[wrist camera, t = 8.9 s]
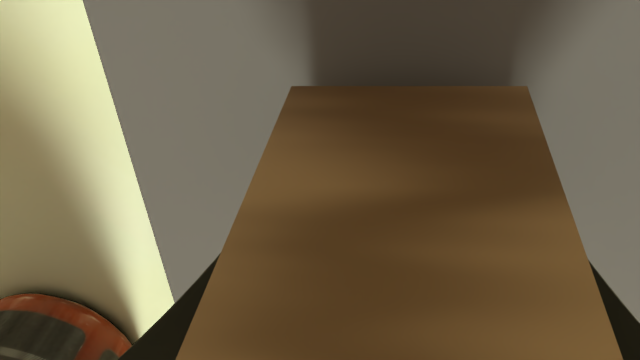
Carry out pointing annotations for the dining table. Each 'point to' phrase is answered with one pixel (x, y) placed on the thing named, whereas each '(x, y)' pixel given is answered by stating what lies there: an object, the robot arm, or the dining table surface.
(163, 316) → the robot arm
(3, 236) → the dining table surface
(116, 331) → the supplement bottle
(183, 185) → the mat
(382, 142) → the walnut block
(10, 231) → the dining table surface
